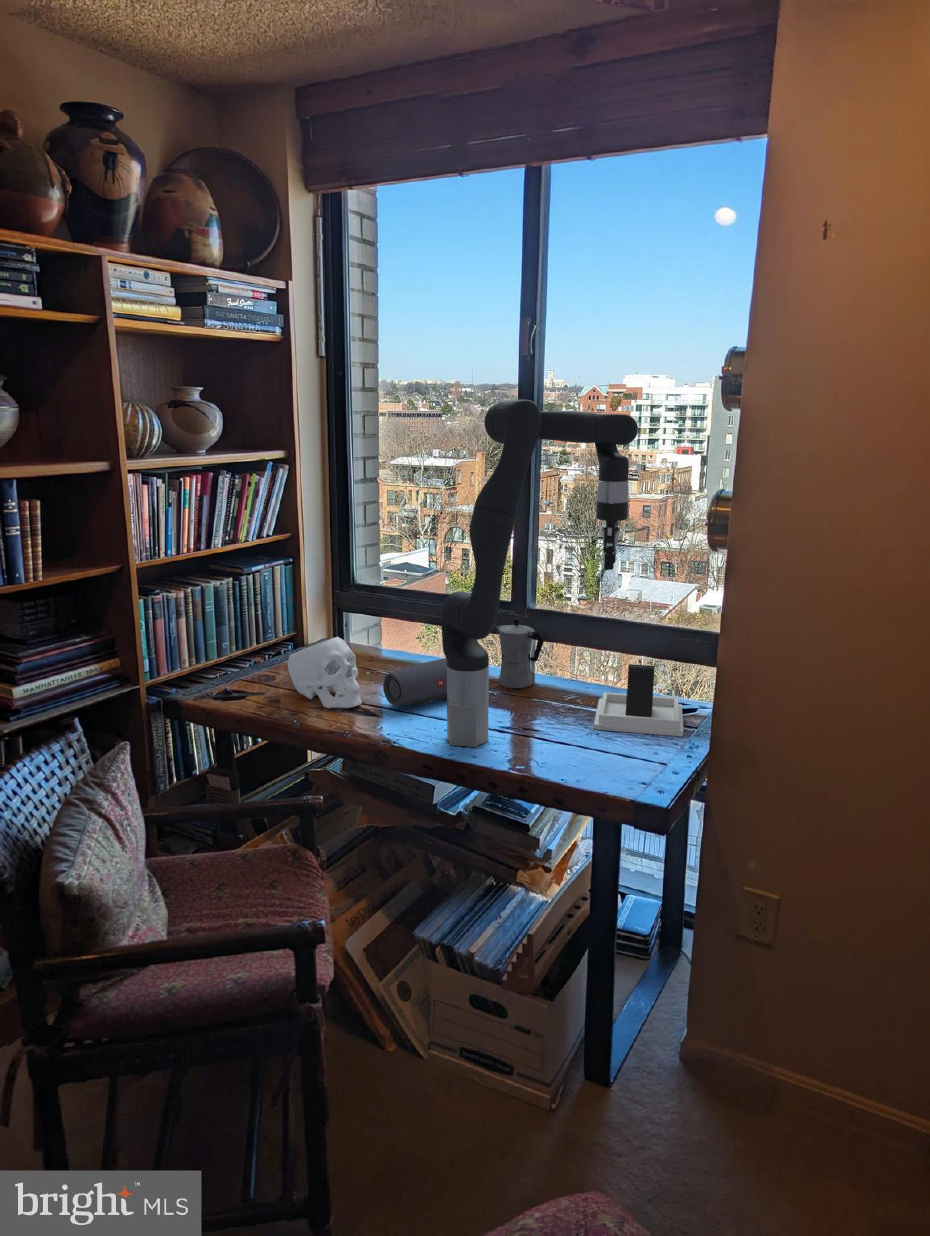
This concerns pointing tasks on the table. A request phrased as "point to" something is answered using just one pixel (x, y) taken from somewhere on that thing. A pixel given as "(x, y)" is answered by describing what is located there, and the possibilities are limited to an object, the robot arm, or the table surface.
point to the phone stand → (640, 690)
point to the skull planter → (326, 673)
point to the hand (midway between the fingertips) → (609, 566)
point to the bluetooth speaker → (417, 683)
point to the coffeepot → (517, 654)
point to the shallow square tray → (662, 721)
